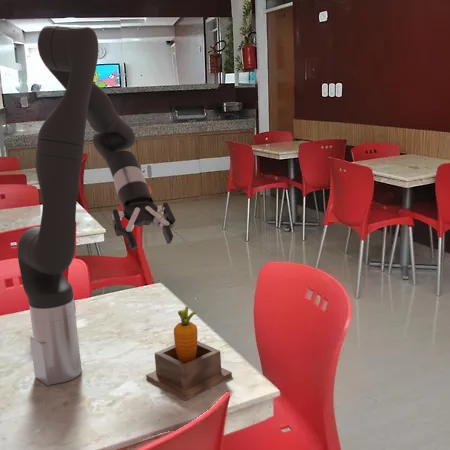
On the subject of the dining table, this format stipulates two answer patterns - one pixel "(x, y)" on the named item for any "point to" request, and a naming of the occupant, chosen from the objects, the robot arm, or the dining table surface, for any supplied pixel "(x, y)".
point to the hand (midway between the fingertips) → (152, 244)
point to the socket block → (188, 371)
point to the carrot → (185, 337)
